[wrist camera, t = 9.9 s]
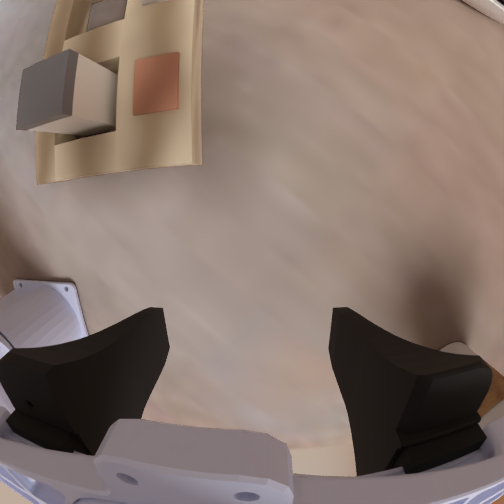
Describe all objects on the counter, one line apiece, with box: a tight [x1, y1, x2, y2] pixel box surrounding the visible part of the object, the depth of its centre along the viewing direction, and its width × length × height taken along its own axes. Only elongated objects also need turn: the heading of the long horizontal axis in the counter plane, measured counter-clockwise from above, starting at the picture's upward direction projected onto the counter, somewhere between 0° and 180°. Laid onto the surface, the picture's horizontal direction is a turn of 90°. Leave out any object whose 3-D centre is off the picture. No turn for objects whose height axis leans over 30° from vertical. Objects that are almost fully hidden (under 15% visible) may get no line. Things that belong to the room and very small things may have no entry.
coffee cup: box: [439, 342, 504, 429], centre depth 16 cm, size 8×8×15 cm
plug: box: [16, 49, 118, 136], centre depth 15 cm, size 4×4×8 cm
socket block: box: [36, 0, 204, 185], centre depth 16 cm, size 13×20×3 cm, turn 1°
